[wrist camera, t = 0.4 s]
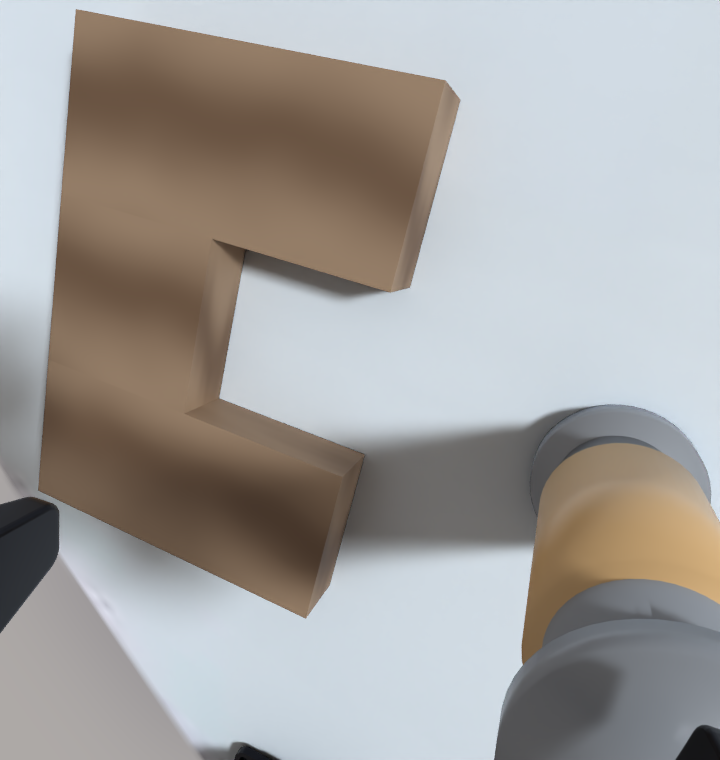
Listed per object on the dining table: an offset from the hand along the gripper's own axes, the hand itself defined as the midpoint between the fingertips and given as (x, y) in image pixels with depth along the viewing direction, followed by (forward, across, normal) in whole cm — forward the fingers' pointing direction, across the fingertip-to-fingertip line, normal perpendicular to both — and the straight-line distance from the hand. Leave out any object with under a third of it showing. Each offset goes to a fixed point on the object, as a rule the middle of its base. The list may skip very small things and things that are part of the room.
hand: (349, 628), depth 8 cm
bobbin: (+14, -7, +3) cm, 16 cm away
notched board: (+16, +9, +2) cm, 18 cm away
